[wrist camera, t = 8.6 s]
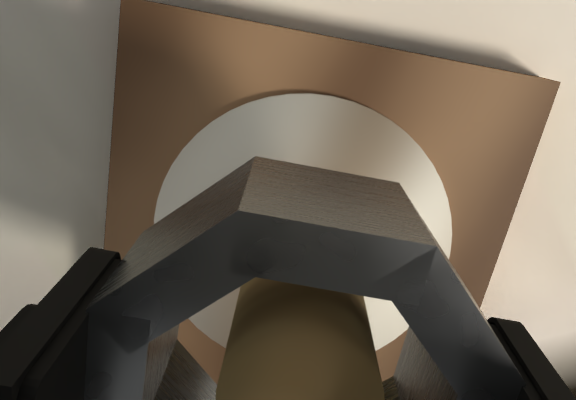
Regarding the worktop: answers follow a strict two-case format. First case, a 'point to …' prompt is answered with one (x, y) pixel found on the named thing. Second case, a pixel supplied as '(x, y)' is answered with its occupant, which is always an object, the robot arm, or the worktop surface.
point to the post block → (317, 153)
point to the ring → (291, 269)
